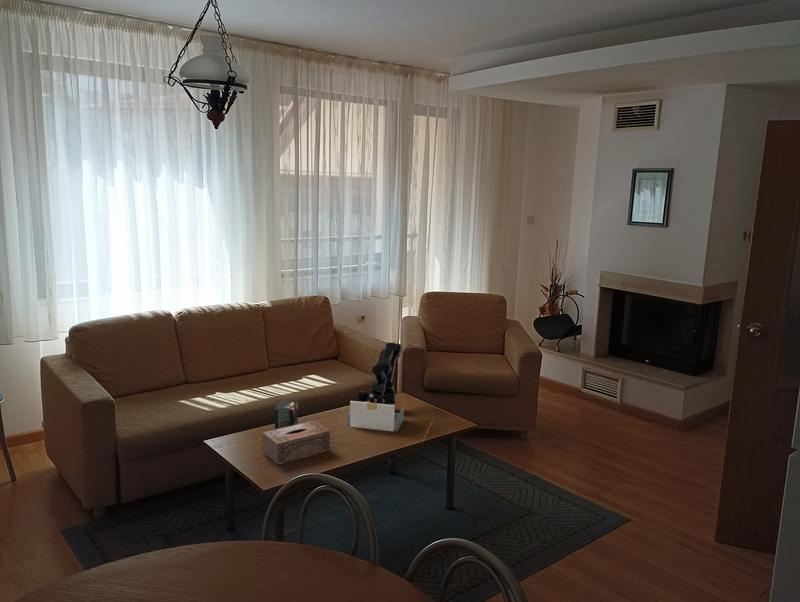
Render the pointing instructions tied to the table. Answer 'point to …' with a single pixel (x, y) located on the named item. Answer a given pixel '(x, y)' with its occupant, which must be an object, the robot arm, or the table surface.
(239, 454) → the table surface
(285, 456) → the tissue box cover
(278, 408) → the tampon box
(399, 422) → the carton
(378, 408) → the flap
